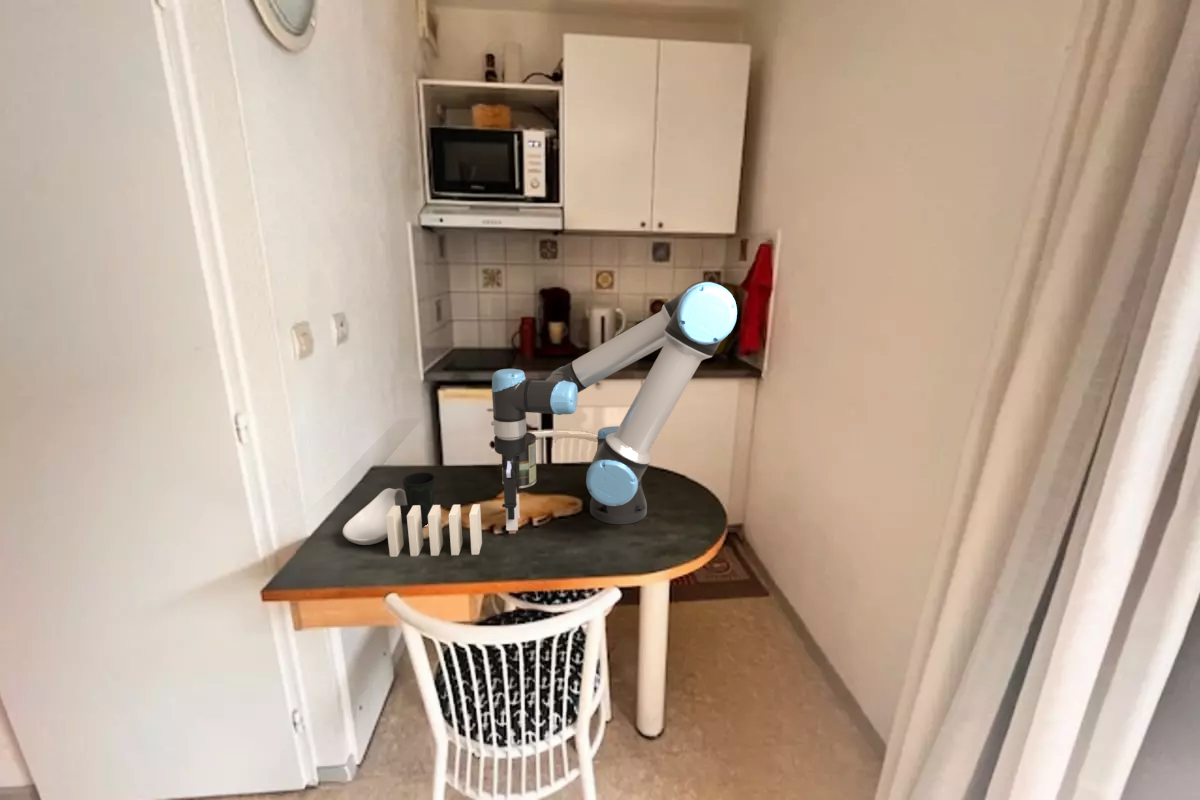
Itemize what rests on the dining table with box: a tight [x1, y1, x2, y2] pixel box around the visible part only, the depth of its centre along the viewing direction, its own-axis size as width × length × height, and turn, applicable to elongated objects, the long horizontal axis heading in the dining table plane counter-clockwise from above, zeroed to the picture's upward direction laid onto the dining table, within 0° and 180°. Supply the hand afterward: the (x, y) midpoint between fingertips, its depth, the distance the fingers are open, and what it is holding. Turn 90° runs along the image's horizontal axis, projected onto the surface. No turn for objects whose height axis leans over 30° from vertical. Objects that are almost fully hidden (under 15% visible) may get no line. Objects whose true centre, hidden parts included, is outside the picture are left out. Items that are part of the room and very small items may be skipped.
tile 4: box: [406, 505, 424, 557], centre depth 118 cm, size 2×5×10 cm, turn 4°
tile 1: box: [468, 503, 483, 556], centre depth 119 cm, size 2×5×10 cm, turn 4°
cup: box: [402, 471, 437, 529], centre depth 130 cm, size 8×8×12 cm
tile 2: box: [448, 504, 464, 556], centre depth 119 cm, size 2×5×10 cm, turn 4°
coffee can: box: [501, 431, 537, 489], centre depth 155 cm, size 10×10×14 cm
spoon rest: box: [342, 487, 408, 546], centre depth 129 cm, size 24×12×7 cm, turn 179°
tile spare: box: [508, 490, 518, 535], centre depth 128 cm, size 2×5×10 cm, turn 4°
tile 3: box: [428, 504, 444, 557], centre depth 119 cm, size 2×5×10 cm, turn 4°
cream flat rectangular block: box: [386, 505, 405, 558], centre depth 118 cm, size 2×5×10 cm, turn 4°
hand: (513, 523), depth 129 cm, fingers closed on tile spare, 5 cm apart
